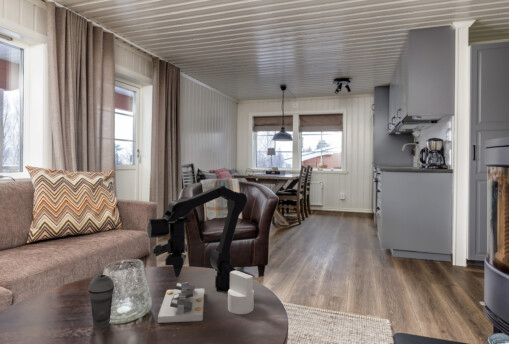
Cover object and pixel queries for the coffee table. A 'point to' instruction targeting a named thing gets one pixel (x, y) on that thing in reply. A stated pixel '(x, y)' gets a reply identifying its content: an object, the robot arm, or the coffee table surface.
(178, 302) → the switch
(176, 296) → the switch
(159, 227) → the robot arm
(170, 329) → the coffee table surface
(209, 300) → the coffee table surface
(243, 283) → the cylinder with rectangular tab
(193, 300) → the switch panel
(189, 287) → the switch
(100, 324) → the beverage cup
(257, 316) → the coffee table surface
